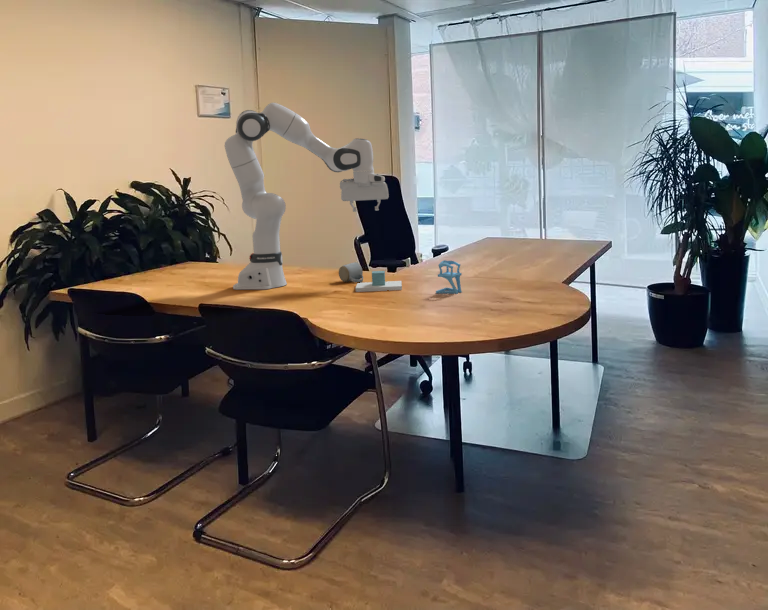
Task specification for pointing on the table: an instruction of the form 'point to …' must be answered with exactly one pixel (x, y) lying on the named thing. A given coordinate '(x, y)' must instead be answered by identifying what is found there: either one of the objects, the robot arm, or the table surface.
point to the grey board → (388, 286)
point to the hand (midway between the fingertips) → (365, 211)
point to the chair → (450, 277)
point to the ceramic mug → (351, 272)
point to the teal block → (378, 278)
